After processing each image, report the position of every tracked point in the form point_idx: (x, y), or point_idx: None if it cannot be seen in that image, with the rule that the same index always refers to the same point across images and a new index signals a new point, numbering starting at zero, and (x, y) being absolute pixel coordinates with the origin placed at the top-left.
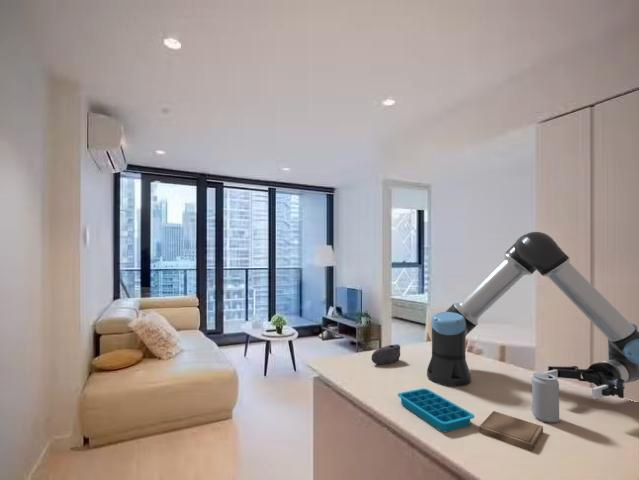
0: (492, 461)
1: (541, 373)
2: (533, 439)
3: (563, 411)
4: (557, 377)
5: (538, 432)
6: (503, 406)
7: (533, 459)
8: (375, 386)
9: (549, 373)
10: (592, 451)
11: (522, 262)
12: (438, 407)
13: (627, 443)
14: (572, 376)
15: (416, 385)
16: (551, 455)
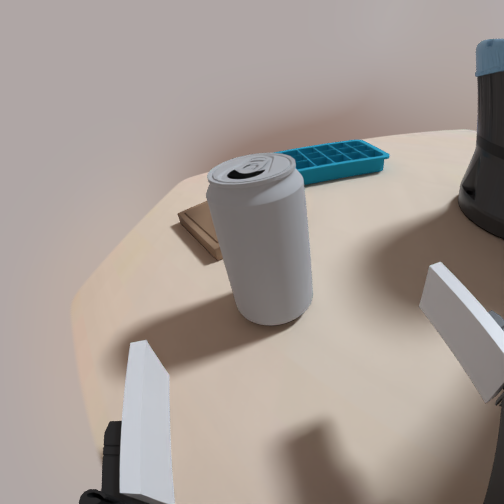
0: (190, 190)
1: (283, 166)
2: (187, 219)
3: (316, 394)
4: (486, 394)
5: (199, 232)
6: (360, 248)
7: (168, 218)
8: (414, 146)
9: (454, 303)
10: (126, 295)
11: None
12: (324, 163)
13: (94, 394)
14: (494, 496)
15: (439, 172)
16: (160, 237)
